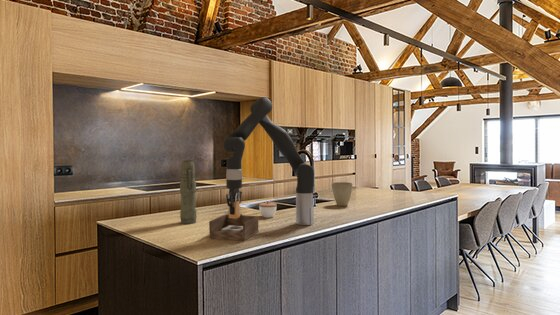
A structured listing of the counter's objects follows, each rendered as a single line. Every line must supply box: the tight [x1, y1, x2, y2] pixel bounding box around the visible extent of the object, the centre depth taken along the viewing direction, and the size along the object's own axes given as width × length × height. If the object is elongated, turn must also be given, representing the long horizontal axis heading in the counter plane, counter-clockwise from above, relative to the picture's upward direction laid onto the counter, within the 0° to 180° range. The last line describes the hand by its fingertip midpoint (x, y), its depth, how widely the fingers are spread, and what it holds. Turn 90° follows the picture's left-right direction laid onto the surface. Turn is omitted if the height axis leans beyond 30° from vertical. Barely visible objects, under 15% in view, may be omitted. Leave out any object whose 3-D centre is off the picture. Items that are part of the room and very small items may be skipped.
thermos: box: [179, 160, 198, 225], centre depth 213 cm, size 9×12×35 cm
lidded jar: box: [258, 201, 278, 219], centre depth 229 cm, size 11×11×9 cm
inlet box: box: [208, 213, 259, 242], centre depth 184 cm, size 18×18×8 cm
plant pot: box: [331, 181, 354, 207], centre depth 270 cm, size 15×15×16 cm
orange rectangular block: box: [228, 201, 241, 219], centre depth 183 cm, size 4×4×8 cm
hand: (234, 213), depth 183 cm, fingers closed on orange rectangular block, 4 cm apart
